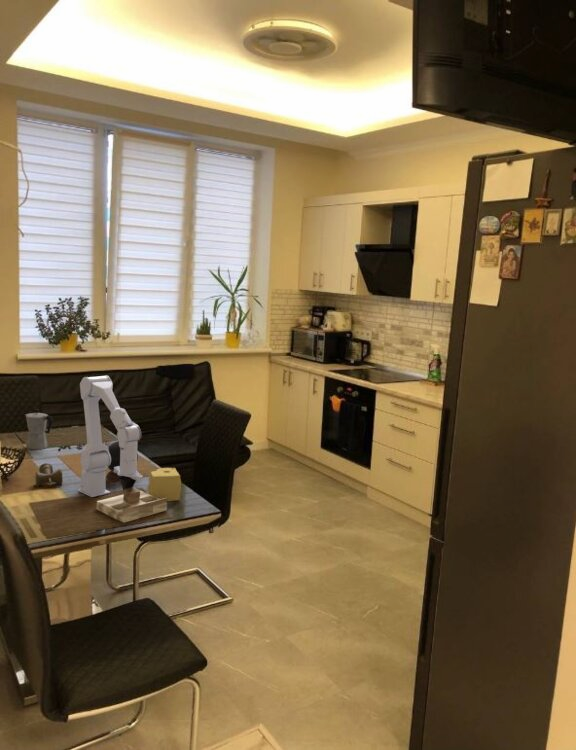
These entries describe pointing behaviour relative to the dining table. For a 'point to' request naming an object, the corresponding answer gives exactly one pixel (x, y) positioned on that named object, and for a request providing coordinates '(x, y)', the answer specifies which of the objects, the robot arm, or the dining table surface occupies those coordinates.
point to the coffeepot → (37, 430)
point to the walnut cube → (131, 495)
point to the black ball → (114, 461)
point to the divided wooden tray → (131, 507)
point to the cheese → (165, 484)
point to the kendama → (48, 475)
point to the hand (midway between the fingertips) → (127, 496)
